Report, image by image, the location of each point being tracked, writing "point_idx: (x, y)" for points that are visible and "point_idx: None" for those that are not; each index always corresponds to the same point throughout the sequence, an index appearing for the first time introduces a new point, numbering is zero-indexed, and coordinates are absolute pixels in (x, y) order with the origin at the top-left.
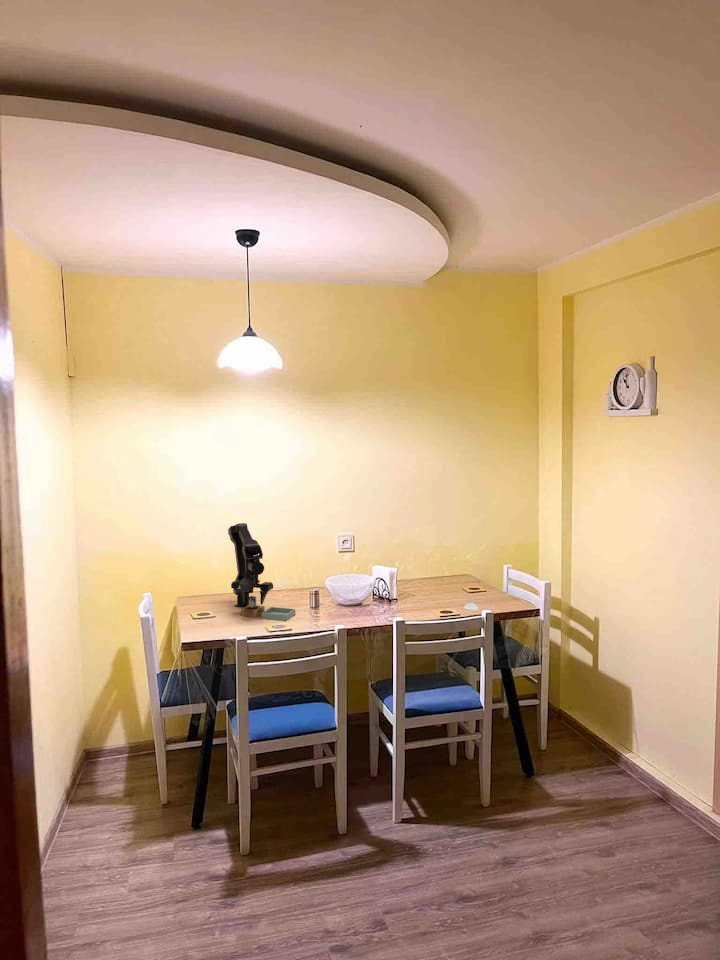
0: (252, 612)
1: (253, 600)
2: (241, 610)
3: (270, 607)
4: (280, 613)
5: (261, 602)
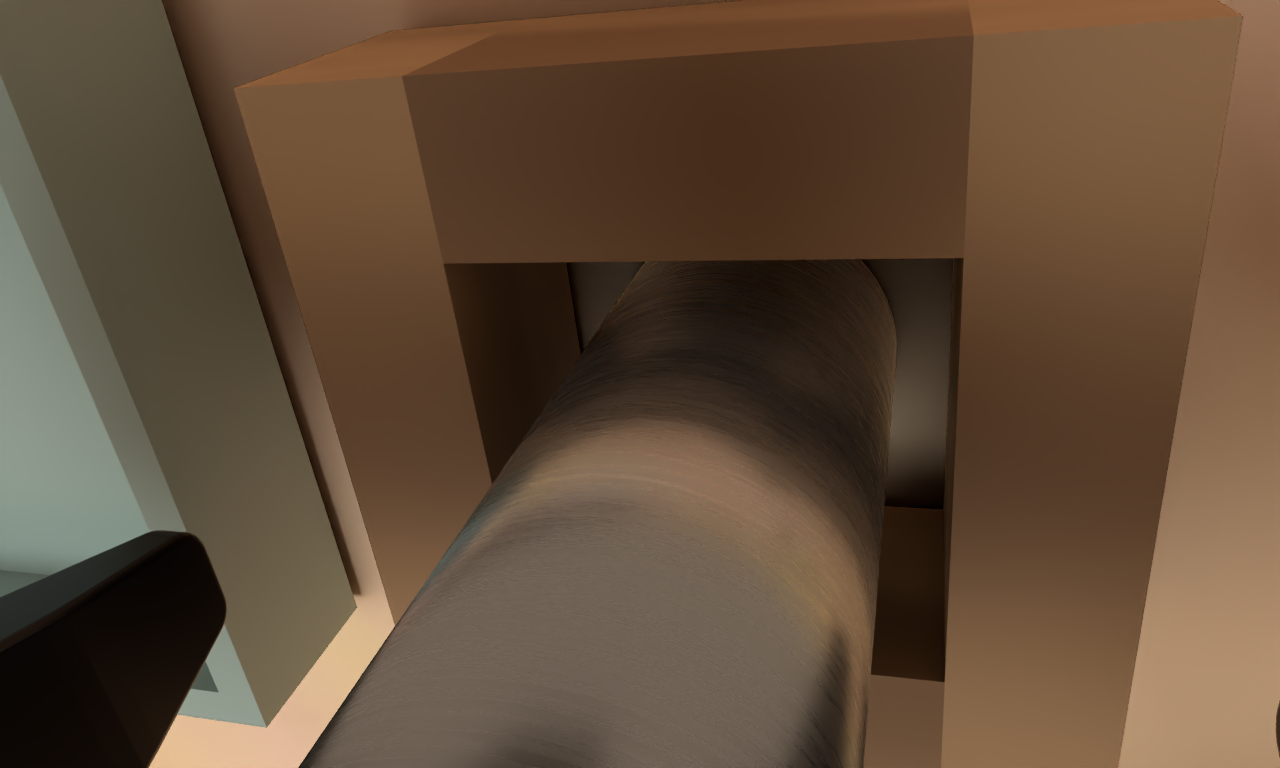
0: (480, 48)
1: (387, 653)
2: (1160, 14)
3: (240, 673)
4: (13, 499)
5: (38, 584)
